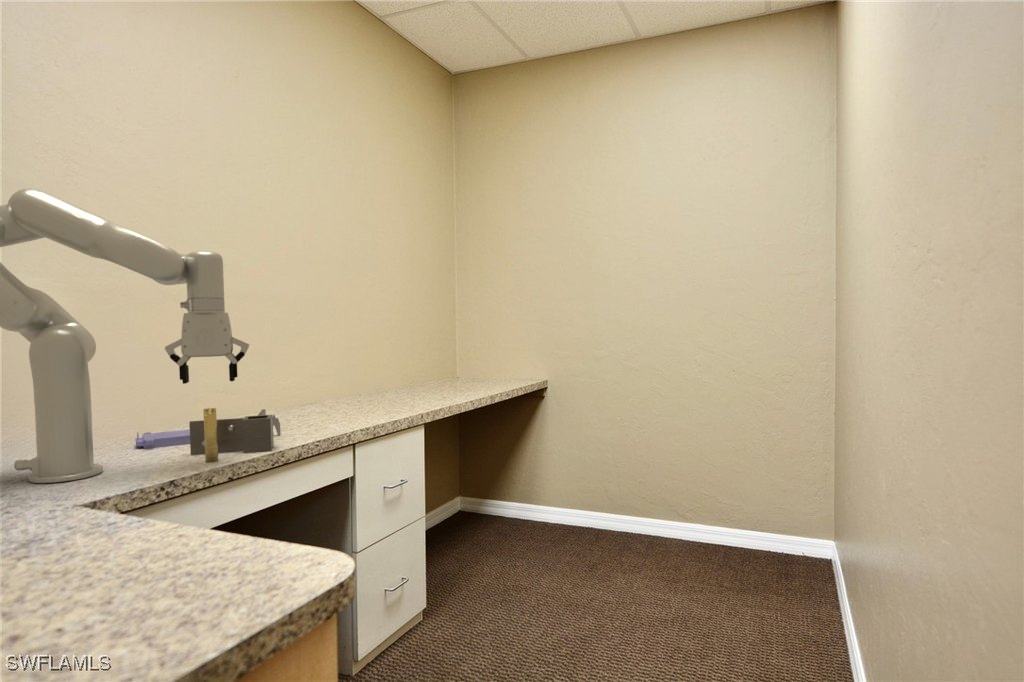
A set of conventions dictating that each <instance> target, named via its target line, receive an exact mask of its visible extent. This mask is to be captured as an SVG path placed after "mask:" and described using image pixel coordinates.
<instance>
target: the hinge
mask: <svg viewBox="0 0 1024 682" xmlns="http://www.w3.org/2000/svg"><path fill="white" fill-rule="evenodd" d="M273 415H274V414H267V413H266V409H261V410H260V412H259V413H258V415H247V416H246V415H245V416H244V417H240V418H238V417H237V418H224V419H223V418H221V419H217V445H218V454H219V453H220V454H221V453H232V452H234V453H235V452H242V453H243V454H246V453H247V454H248V453H261V452H271V450H272V451H273V449H272V448H274V445H275V441H274V436H273V435H274V434H273V433H274V426H273ZM189 424H190V427H189V430H190V444H189V446H190V447H189V448H190V456H193V455H205V437H204V419H203V420H191V421H189Z"/></svg>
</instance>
